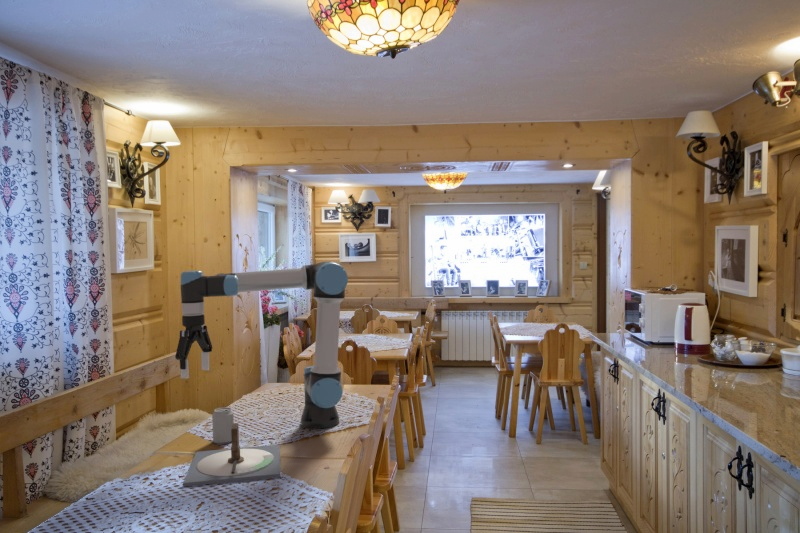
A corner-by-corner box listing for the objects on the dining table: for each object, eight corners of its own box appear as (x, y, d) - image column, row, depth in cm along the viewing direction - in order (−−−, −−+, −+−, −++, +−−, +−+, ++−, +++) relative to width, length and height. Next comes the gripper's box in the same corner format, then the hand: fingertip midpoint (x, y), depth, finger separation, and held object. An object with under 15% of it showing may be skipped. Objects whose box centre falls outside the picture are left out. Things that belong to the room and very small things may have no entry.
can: (228, 445, 215) (227, 412, 215) (209, 444, 217) (208, 411, 216) (238, 438, 223) (237, 406, 222) (219, 437, 224) (218, 406, 224)
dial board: (279, 447, 211) (279, 443, 211) (280, 477, 184) (280, 472, 184) (196, 455, 206) (196, 450, 206) (184, 486, 178) (184, 481, 178)
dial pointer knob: (244, 456, 198) (243, 422, 198) (241, 474, 183) (240, 437, 182) (228, 458, 197) (227, 423, 197) (224, 476, 182) (223, 439, 181)
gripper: (202, 310, 226) (204, 366, 226) (162, 318, 201) (165, 381, 202) (220, 310, 224) (222, 366, 225) (182, 318, 200) (185, 382, 200)
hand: (195, 374), depth 213 cm, fingers open, 13 cm apart
